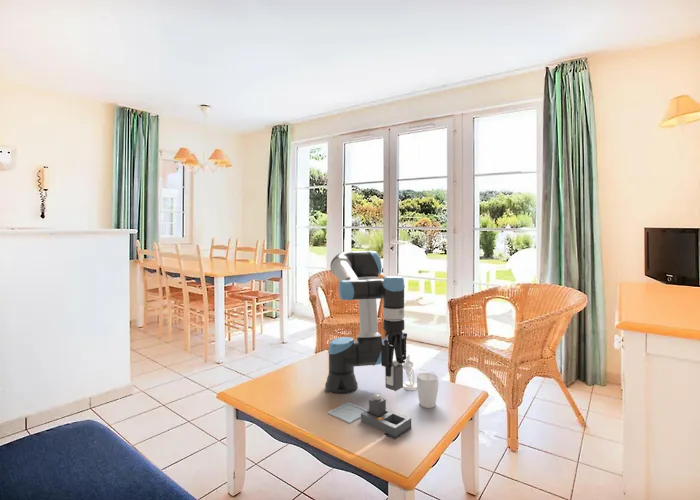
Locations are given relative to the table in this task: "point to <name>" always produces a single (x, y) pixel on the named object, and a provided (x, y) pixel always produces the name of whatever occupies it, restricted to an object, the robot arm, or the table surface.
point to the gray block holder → (385, 418)
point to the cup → (427, 389)
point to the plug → (396, 376)
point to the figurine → (409, 375)
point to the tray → (347, 412)
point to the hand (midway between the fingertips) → (394, 382)
